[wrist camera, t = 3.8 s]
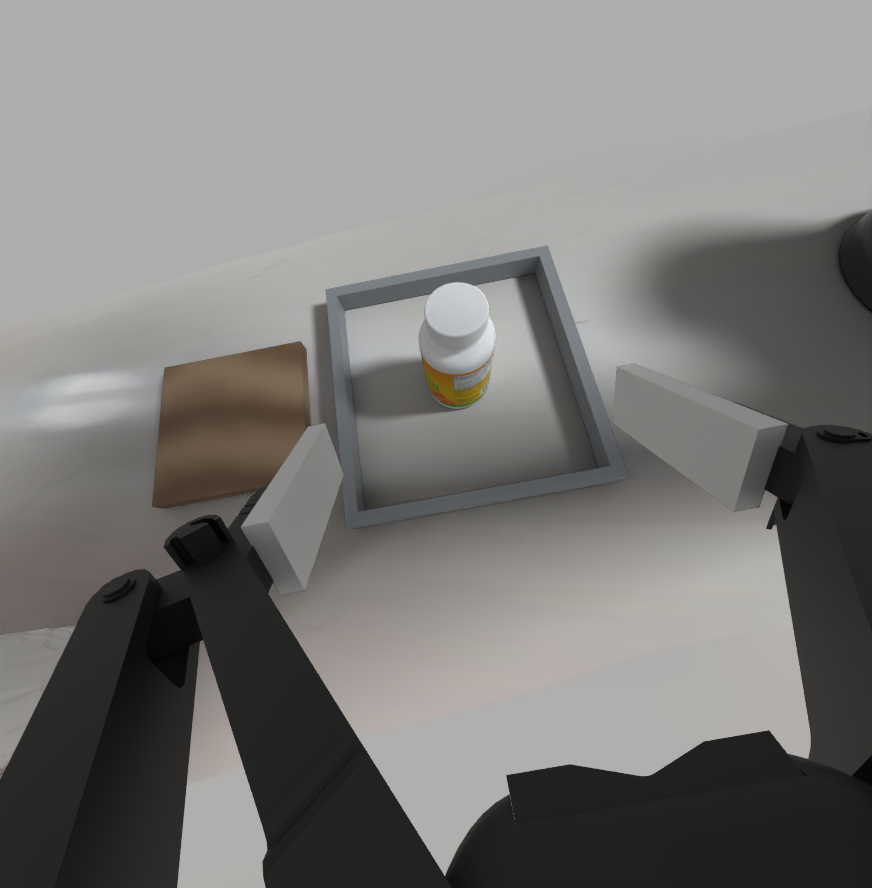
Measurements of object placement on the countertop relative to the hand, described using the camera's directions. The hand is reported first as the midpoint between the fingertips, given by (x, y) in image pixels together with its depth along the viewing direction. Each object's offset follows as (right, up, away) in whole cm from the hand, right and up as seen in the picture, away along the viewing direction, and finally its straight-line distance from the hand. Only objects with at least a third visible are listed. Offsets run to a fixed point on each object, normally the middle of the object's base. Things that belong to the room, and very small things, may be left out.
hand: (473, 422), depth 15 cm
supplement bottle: (0, +5, +15) cm, 15 cm away
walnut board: (-19, +1, +15) cm, 24 cm away
